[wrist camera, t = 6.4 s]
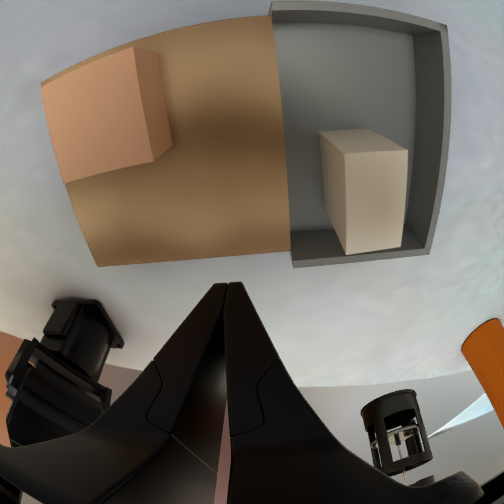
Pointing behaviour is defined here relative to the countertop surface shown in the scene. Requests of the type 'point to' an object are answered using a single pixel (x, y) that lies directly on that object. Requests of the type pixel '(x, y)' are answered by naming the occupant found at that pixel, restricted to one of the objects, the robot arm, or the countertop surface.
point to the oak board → (199, 155)
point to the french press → (397, 433)
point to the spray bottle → (488, 361)
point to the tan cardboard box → (108, 114)
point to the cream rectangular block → (364, 188)
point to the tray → (361, 112)
